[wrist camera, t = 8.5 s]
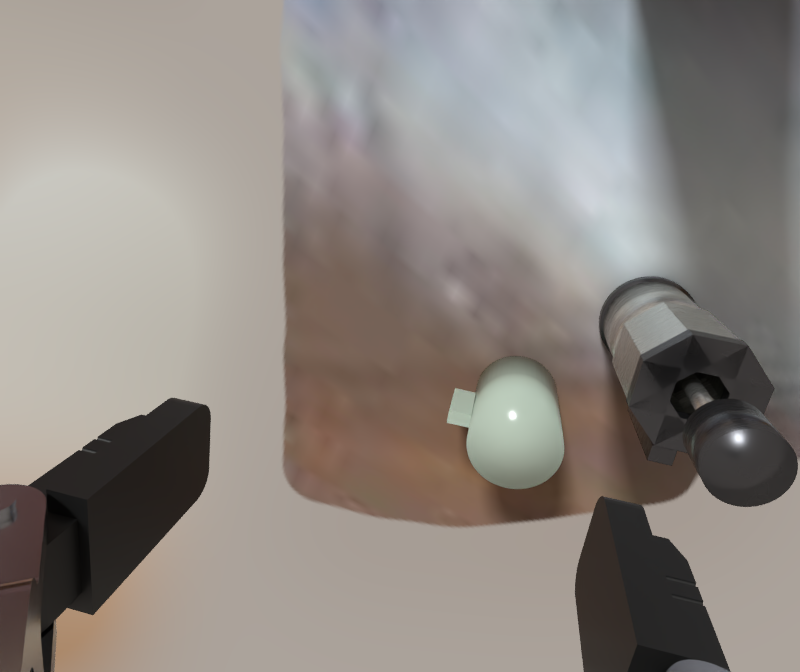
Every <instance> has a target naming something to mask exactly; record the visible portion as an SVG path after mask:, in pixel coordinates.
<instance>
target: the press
mask: <svg viewBox="0 0 800 672" xmlns="http://www.w3.org/2000/svg"><path fill="white" fill-rule="evenodd" d="M599 329H600V334H601V337H602V339H603V342H604V344H605V346H606V347H607V349H608V350H609V351H610V353H611V354H612V356H613V360H612V363H613V366H614V368H615V371H616V373H617V376H618V378H619V381H620V383H621V386H622V388H623V391H624V393H625V396H626V401H627V404H628V406H629V407H628V412H629V414H630V417H631V420H632V422H633V425H634V427H635V430H636V432H637V435H638V438H639V440H640V443H641V445H642V448H643V450H644V453H645V455H646V458H647V460H649V461H653V462H658V463H662V464H666V465H671V466H672V464H673V461H674V458H675V455H676V453H677V451H681V452H685V453H687V451H686V449H685V447H684V444H683V429H684V425H685V423H686V421H687V419H688V418H689V416H690V415H691V414H692V413H693V412H694V411H695V409H694V407H693V406H692V404H691V403H690V401H689V399H688V398H687V396H686V395H685V393H684V392H683V390H682V389H681V387H680V385H679V384H678V381H680V380H682V379H684V378H686V377H688V376H690V375H692V374H695V375H696V377H697V378H698V379H699V381H700V382H701V383H702V385H703V386H704V387H705V389H706V390H707V392H708V393H709V394H710V396H711V397H712V398H713V400H719V399H738V400H742V401H745V402H747V403H750V404H751V405H753V406H755V407H756V408H757V409H758V410H759V411H760V412H761V413H762V414H763V415H764V412H765V410H766V407H767V405H768V402H769V400H770V398H771V395H772V393H773V390H774V387H773V385H772V384H771V382H770V380H769V379H768V377H767V376H766V374H765V372H764V371H763V369H762V367H761V366H760V364H759V362H758V361H757V359H756V357H755V356H754V354H753V353H752V351H751V349H750V348H749V346H748V345H747V344H746V343H745V342H744V341H743V340H740V339H739V338H737V337H736V336H735V335H734V334H733V333H732V332H731V331H730V330H729V329H728V328H727V327H725V326H724V325H723V324H722V323H721V322H720V321H719V320H718V319H717V318H716V317H715V316H713V315H712V314H711V313H710V312H709V311H708V310H704V309H700V308H699V307H698V306H697V305H696V303H695V302H694V300H693V298H692V297H691V296H690V294H689V293H688V292H687V291H686V290H685V289H683V288H682V287H681V286H680V285H678V284H677V283H675V282H673V281H671V280H668V279H665V278H661V277H641V278H636V279H633V280H630V281H628V282H626V283H624V284H622V285H621V286H619V287H618V288H617V289H616V290H614V291H613V292H612V293H611V294H610V296H609V297H608V298H607V300H606V301H605V303H604V305H603V307H602V309H601V312H600V317H599Z"/></svg>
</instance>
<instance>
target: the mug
mask: <svg viewBox="0 0 800 672" xmlns="http://www.w3.org/2000/svg"><path fill="white" fill-rule="evenodd" d="M447 423H451V424H455V425H459V426H464V427H468V428H469V430H468V435H467V453H468V456H469V459H470V461H471V463H472V465H473V466H474V468H475V469H476V470H477V472H478V473H479V474H480V475H481V476H482V477H484V478H485V479H486V480H488V481H490V482H491V483H493V484H496V485H498V486H501V487H504V488H509V489H526V488H531V487H534V486H537V485H539V484H542V483H543V482H545V481H547V480H548V479H549V478H551V477H552V476H553V475H554V474H555V472H556V471H557V470H558V468H559V466H560V465H561V462H562V460H563V456H564V439H563V432H562V425H561V417H560V410H559V403H558V395H557V388H556V384H555V381H554V379H553V377H552V375H551V374H550V372H549V371H548V370H547V369H546V368H545V367H544V366H543V365H541V364H540V363H538V362H537V361H535V360H532V359H530V358H526V357H521V356H510V357H505V358H502V359H499V360H497V361H495V362H493V363H492V364H490V365H489V366H488V367H487V368H486V369H485V370H484V371H483V373H482V374H481V376H480V378H479V380H478V383H477V388H476V393H474V392H470V391H466V390H461V389H457V388H455V391H454V395H453V398H452V402H451V406H450V409H449V414H448V419H447ZM469 424H470V425H469Z"/></svg>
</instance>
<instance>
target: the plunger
mask: <svg viewBox="0 0 800 672" xmlns="http://www.w3.org/2000/svg"><path fill="white" fill-rule="evenodd" d="M678 384H679V385H680V387H681V389H682V390H683V392H684V393H685V395H686V396H687V398H688V399H689V401H690V403H691V404H692V406H693V407H694V409H695V411H694V412H693V413H692V414H691V415H690V416H689V418H688V419H687V421H686V423H685V425H684V429H683V444H684V447H685V449H686V451H687V453H688V455H689V457H690V458H691V460H692V462H693V464H694V466H695V468H696V470H697V472H698V474H699V475H700V477H701V479H702V481H703V483H704V485H705V487H706V488H707V489H708V491H709V492H710V493H711V494H712V495H713V496H715V497H716V498H717V499H719V500H721V501H723V502H725V503H727V504H731V505H735V506H741V507H742V506H743V507H751V506H759V505H762V504H766V503H769V502H771V501H773V500H775V499H777V498H779V497H780V496H781V495H783V494H784V493H785V492H786V491H787V490H788V489H789V488H790V486H791V485H792V484H793V482H794V480H795V477H796V475H797V469H798V462H797V457H796V454H795V452H794V450H793V449H792V447H791V446H790V445H789V443H788V442H787V441H786V440H785V439H784V438H783V437H782V435H781V434H780V433H779V432H778V431H777V430H776V429H775V427H774V426H773V425H772V424H771V423H770V422H769V421H768V419H767V418H766V417H765V416H764V415H763V414H762V413H761V412H760V411H759V410H758V409H757V408H756V407H755V406H753V405H751V404H750V403H747V402H745V401H742V400H738V399H719V400H713V398H712V397H711V396H710V394H709V393H708V392H707V390H706V389H705V387H704V386H703V385H702V383H701V382H700V381H699V379H698V378H697V377H696V375H695V374H692V375H690V376H688V377H686V378H684V379H682V380H680V381H678Z"/></svg>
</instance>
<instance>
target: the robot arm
mask: <svg viewBox="0 0 800 672" xmlns="http://www.w3.org/2000/svg"><path fill="white" fill-rule="evenodd" d="M210 420H211V415H210V410H209V408H208V406H206V405H203V404H199V403H194V402H190V401H185V400H181V399H177V398H170V399H168V400H167V401H165V402H164V403H162V404H161V405H160V406H158V407H157V408H156V409H154V410H153V411H152V412H150V413H149V414H147V415H146V416H145V415H139V416H137V417H134V418H131V419H128V420H125V421H123V422H120V423H117V424H115V425H114V426H112V427H111V428H110V429H108V430H107V431H105V432H104V433H103V434H101V435H100V436H98V439H97V440H95V439H94V440H93V441H91V442H90V443H88V444H87V445H85V446H84V447H83V449H82V451H80V450H78V451H77V452H75V453H74V454H73V455H71V456H70V457H68V458H67V459H65V460H64V461H63V462H61V463H60V464H58V465H57V466H56V467H54V468H53V469H51V470H50V471H48V472H47V473H45V474H44V475H43V476H41V477H40V478H38V479H37V480H36V481H34V482H33V483H31V484H30V485H28V486H26V485H19V484H7V485H0V672H54V667H55V651H56V633H57V632H56V619H57V617H59V616H60V614H61V613H62V612H63V611H64V610H65V609H66V608H70V609H73V610H77V611H80V612H84V613H88V614H91V615H94V614H95V612H96V611H97V610H98V609H99V608H100V607H101V606H102V604H104V602H105V601H106V600H107V599H108V598H109V597H110V596H111V595H112V594H113V593H114V591H115V590H116V589H117V588H118V587H119V586H120V585H121V584H122V583H123V581H124V580H125V579H126V578H127V577H128V576H129V575H130V574H131V573H132V571H133V570H134V569H135V568H136V567H137V566H138V565H139V564H140V563H141V561H142V560H143V559H144V558H145V557H146V556H147V555H148V554H149V553H150V552H151V550H152V549H153V548H154V547H155V546H156V545H157V544H158V543H159V542H160V540H161V539H162V538H163V537H164V536H165V535H166V533H167V532H169V530H170V529H171V528H172V527H173V526H174V525H175V524H176V523H177V522H178V520H179V519H180V518H181V517H182V516H183V515H184V514H185V513H186V512H187V510H188V509H189V508H190V507H191V506H192V505H193V504H194V503H195V502H196V501H197V499H198V498H199V497H200V495H201V493H202V491H203V489H204V487H205V484H206V481H207V478H208V473H209V453H210V422H211V421H210ZM695 585H696V582H695V579H694V576H693V574H692V571H691V569H690V566H689V564H688V561H687V560H686V559H685V557H684V556H683V555H682V554H681V553H680V552H679V551H678V549H676V547H675V546H674V545H673V544H672V543H671V542H670V540H669V539H666V538H662V537H657V536H653V535H652V532H651V529H650V526H649V523H648V520H647V517H646V514H645V511H644V508H643V507H642V506H641V505H638V504H634V503H629V502H625V501H621V500H616V499H612V498H607V497H603V496H601V497H600V498H599V499H598V501H597V503H596V506H595V509H594V513H593V516H592V519H591V523H590V526H589V529H588V532H587V536H586V539H585V542H584V546H583V549H582V552H581V556H580V559H579V563H578V567H577V573H576V582H575V597H576V605H577V615H578V624H579V633H580V641H581V650H582V659H583V668H584V672H730V669H729V667H728V664H727V661H726V659H725V656H724V654H723V651H722V649H721V646H720V643H719V641H718V638H717V636H716V633H715V631H714V628H713V625H712V623H711V620H710V618H709V615H708V613H707V610H706V607H705V606H703V600H702V597H701V595H700V592H699V589H698V587H696V586H695Z"/></svg>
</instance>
